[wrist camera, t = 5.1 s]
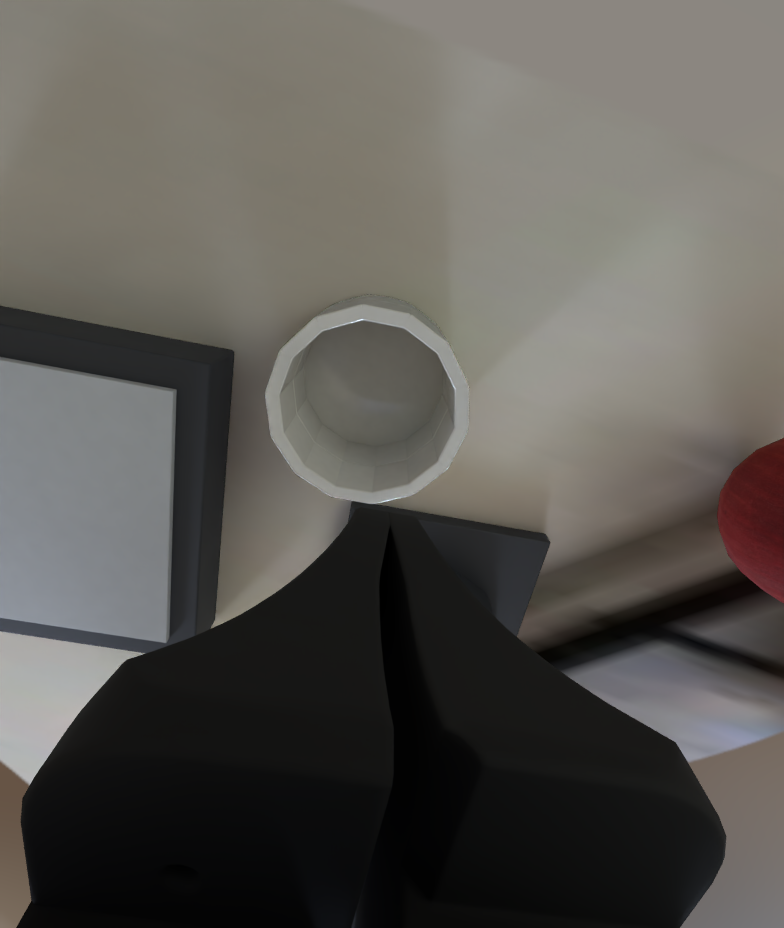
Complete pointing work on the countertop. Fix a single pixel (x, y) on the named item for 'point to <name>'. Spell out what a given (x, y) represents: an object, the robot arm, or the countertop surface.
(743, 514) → the onion
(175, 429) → the scale
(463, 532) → the pad
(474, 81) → the countertop surface
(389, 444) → the cup
